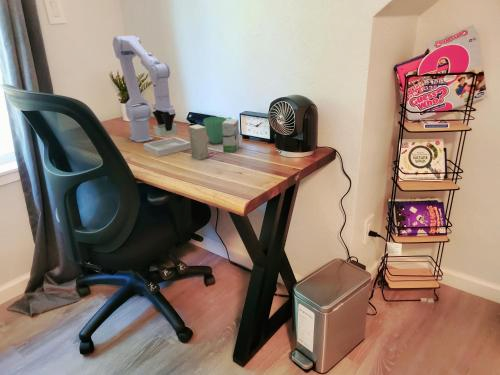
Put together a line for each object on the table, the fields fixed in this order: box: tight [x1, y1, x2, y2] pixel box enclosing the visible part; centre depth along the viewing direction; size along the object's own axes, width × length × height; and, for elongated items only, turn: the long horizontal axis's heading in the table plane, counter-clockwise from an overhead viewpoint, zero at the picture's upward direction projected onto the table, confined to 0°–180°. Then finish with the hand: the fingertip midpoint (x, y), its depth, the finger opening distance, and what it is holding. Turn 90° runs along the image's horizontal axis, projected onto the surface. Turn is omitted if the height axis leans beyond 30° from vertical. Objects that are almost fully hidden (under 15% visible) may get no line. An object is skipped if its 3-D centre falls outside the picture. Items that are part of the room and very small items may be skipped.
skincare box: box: [188, 124, 209, 161], centre depth 150 cm, size 6×4×12 cm
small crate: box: [153, 123, 179, 138], centre depth 160 cm, size 5×8×4 cm, turn 131°
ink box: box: [222, 118, 240, 153], centre depth 158 cm, size 9×5×12 cm, turn 168°
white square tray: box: [143, 136, 191, 157], centre depth 162 cm, size 12×15×2 cm
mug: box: [203, 116, 233, 145], centre depth 170 cm, size 15×10×10 cm
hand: (165, 129), depth 160 cm, fingers closed on small crate, 5 cm apart
